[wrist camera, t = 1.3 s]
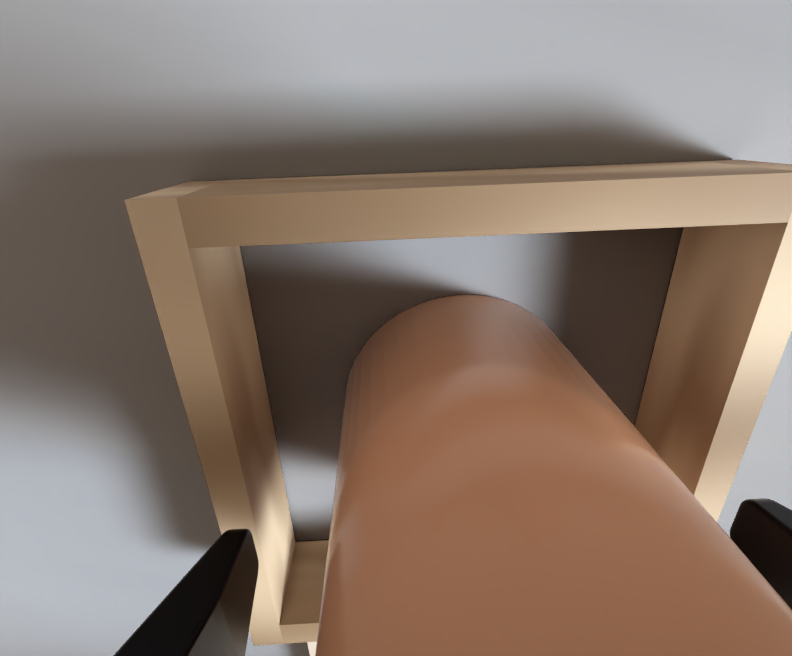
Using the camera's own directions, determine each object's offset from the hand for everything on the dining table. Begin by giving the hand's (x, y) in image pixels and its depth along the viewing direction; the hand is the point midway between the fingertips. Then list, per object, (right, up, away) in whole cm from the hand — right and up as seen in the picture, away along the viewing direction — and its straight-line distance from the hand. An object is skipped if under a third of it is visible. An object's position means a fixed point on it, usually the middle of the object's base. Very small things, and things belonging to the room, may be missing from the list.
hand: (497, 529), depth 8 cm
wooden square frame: (0, +2, +4) cm, 4 cm away
